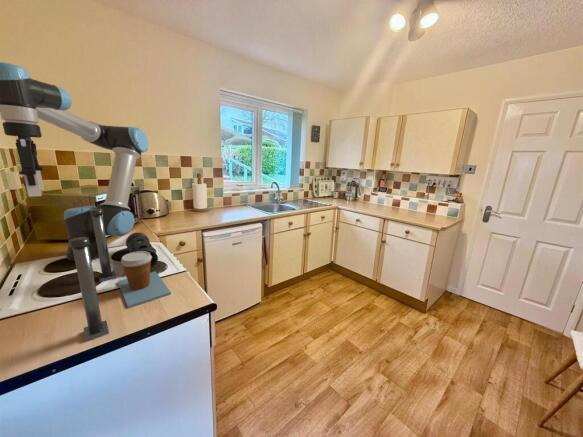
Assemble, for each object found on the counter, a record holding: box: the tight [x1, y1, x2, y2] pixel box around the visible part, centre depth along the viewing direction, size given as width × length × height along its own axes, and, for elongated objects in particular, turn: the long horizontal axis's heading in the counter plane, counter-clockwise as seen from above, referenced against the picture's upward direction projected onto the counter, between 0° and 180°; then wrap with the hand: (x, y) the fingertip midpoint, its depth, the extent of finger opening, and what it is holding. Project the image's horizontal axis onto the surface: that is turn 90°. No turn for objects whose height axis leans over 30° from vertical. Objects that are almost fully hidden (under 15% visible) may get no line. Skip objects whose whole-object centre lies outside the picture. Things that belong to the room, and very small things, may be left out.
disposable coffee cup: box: [120, 251, 152, 290], centre depth 87 cm, size 10×10×12 cm
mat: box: [117, 271, 172, 309], centre depth 88 cm, size 20×13×1 cm, turn 43°
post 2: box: [90, 208, 117, 283], centre depth 90 cm, size 5×5×28 cm
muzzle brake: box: [125, 232, 159, 270], centre depth 109 cm, size 10×28×10 cm, turn 39°
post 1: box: [68, 237, 110, 343], centre depth 62 cm, size 5×5×28 cm
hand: (37, 193), depth 76 cm, fingers open, 13 cm apart
